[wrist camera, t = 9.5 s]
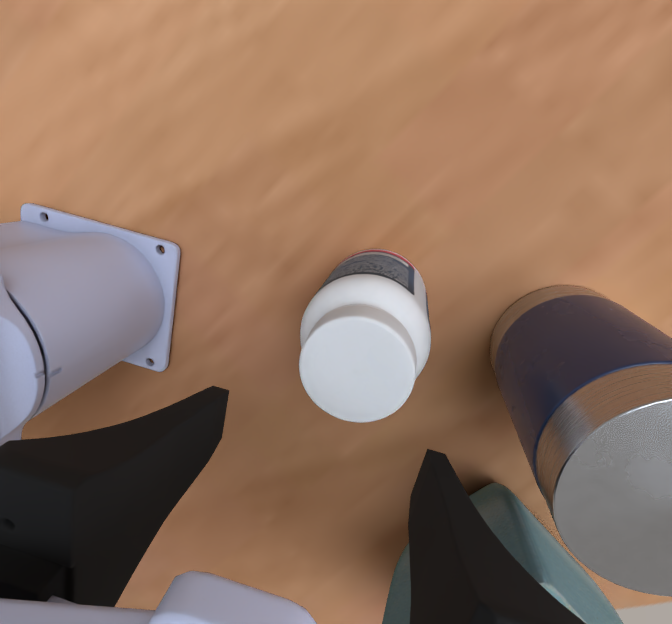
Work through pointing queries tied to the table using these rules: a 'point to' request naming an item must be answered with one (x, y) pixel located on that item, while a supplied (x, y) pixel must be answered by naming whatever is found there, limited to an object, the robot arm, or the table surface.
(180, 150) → the table surface
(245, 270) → the table surface
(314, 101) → the table surface
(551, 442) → the tin can
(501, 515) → the flower pot
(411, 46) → the table surface
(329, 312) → the pill bottle
